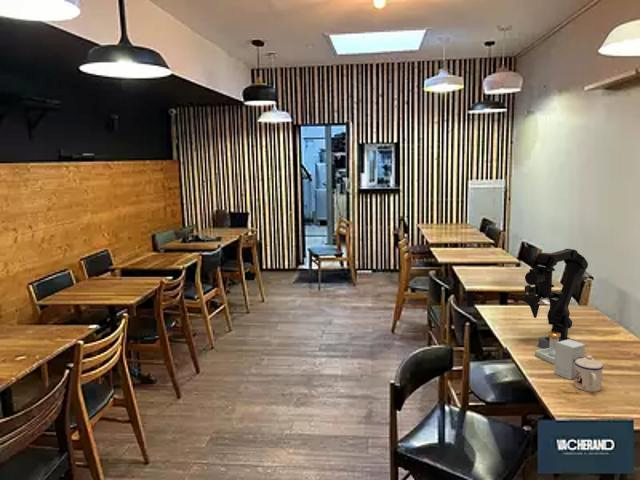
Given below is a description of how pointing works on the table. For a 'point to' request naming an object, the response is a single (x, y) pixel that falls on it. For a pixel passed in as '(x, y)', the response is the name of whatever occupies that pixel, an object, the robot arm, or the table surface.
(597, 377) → the teacup with lid
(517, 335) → the table surface
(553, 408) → the table surface
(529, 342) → the table surface
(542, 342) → the bracket
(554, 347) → the pin
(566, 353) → the supplement box
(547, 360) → the tray
